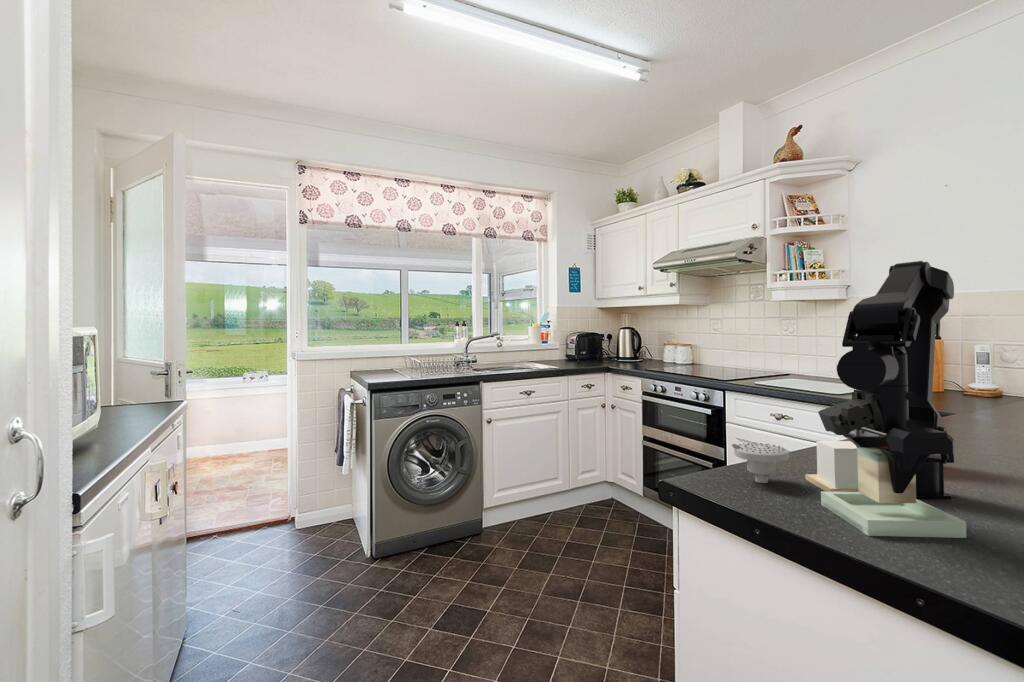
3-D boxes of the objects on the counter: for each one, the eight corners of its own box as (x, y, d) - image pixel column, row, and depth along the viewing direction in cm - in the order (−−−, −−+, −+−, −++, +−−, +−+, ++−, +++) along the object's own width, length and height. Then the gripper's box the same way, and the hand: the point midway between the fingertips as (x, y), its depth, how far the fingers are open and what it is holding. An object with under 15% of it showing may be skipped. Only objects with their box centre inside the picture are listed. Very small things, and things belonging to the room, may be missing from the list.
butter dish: (860, 479, 91) (859, 438, 91) (892, 495, 82) (891, 449, 82) (805, 479, 92) (804, 438, 92) (830, 494, 83) (829, 449, 83)
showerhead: (725, 438, 97) (778, 439, 95) (726, 473, 97) (779, 475, 95) (737, 449, 88) (796, 450, 86) (738, 487, 88) (797, 489, 86)
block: (893, 492, 73) (891, 447, 73) (916, 503, 68) (915, 455, 68) (858, 491, 74) (856, 447, 74) (879, 502, 69) (877, 455, 69)
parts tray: (902, 505, 77) (902, 492, 77) (966, 537, 64) (966, 521, 64) (821, 504, 78) (820, 491, 78) (868, 535, 66) (867, 520, 66)
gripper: (797, 380, 81) (799, 469, 82) (863, 392, 63) (867, 508, 63) (866, 378, 80) (869, 470, 80) (956, 391, 62) (959, 510, 62)
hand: (886, 487), depth 71 cm, fingers closed on block, 5 cm apart
